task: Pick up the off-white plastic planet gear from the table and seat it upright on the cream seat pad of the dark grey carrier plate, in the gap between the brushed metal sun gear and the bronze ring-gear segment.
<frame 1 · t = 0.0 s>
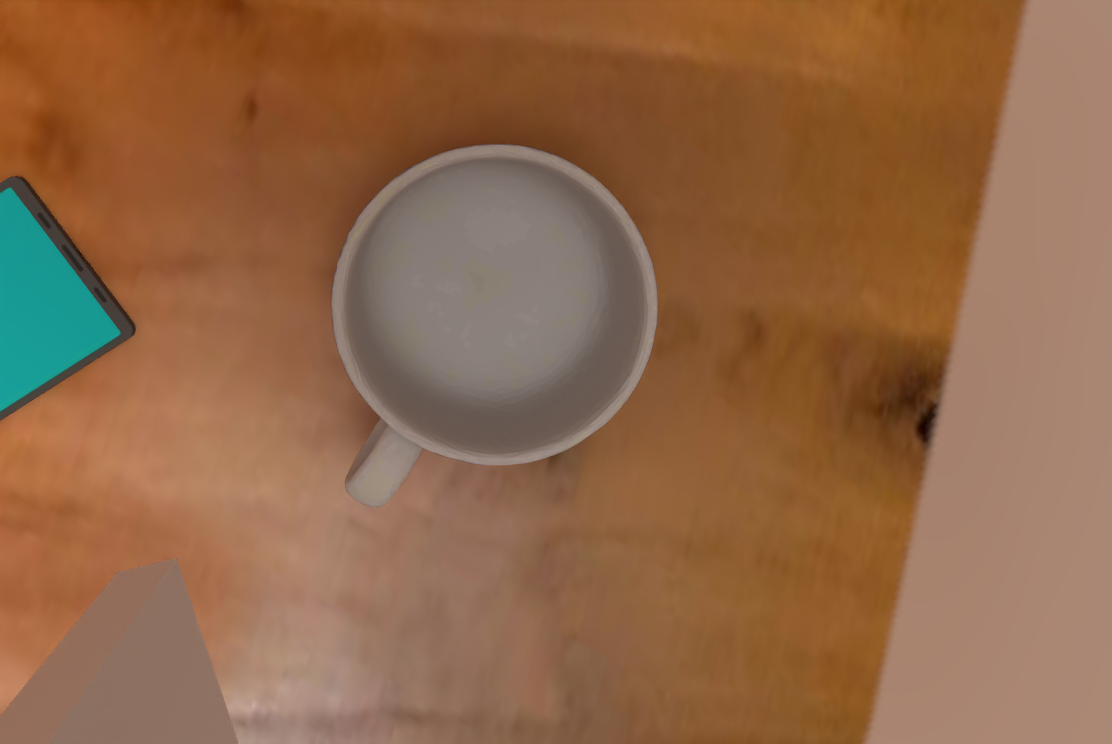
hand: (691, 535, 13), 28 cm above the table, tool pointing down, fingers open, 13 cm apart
teacup: (464, 307, 41), on the table
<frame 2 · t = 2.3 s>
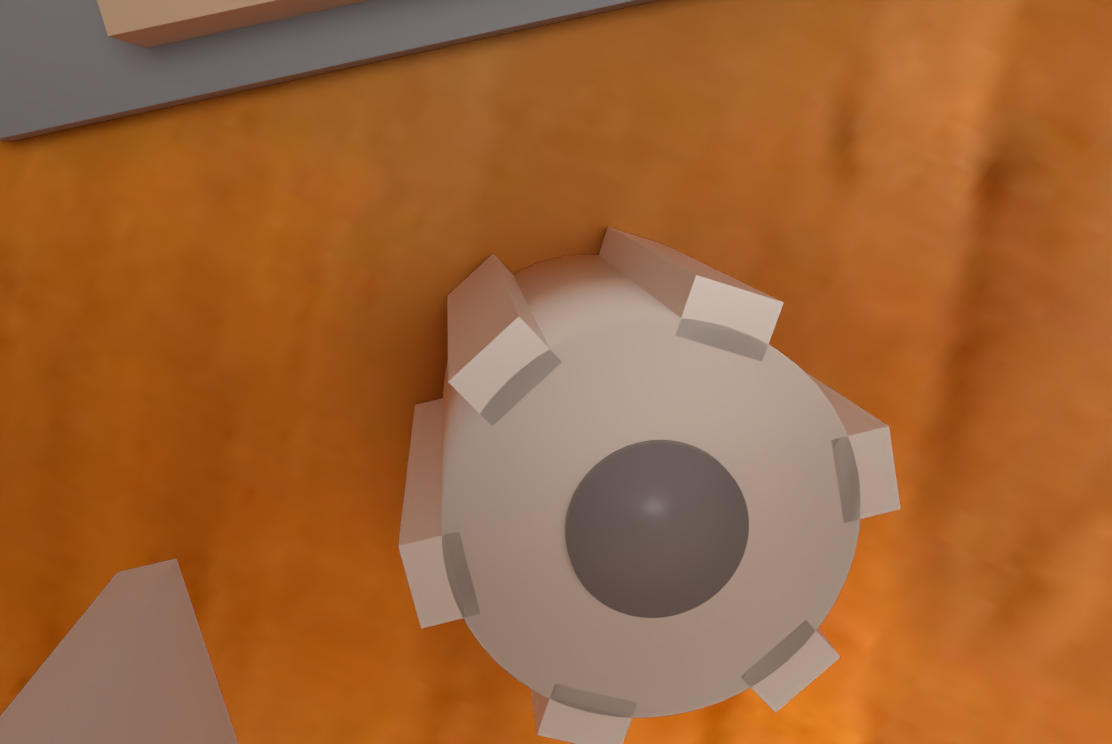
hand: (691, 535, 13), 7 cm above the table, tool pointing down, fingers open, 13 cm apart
planet gear: (584, 394, 20), on the table
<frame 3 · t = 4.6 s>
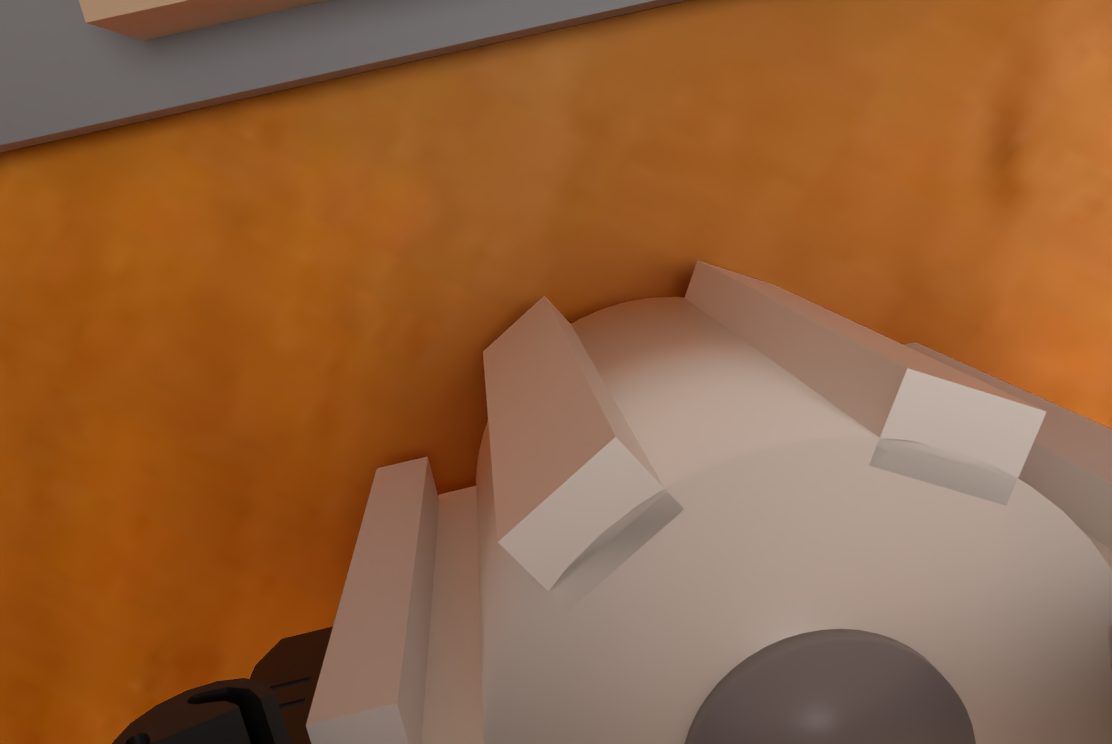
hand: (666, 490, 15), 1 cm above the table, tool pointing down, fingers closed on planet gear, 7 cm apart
planet gear: (662, 480, 15), point 1 cm above the table, touching gripper
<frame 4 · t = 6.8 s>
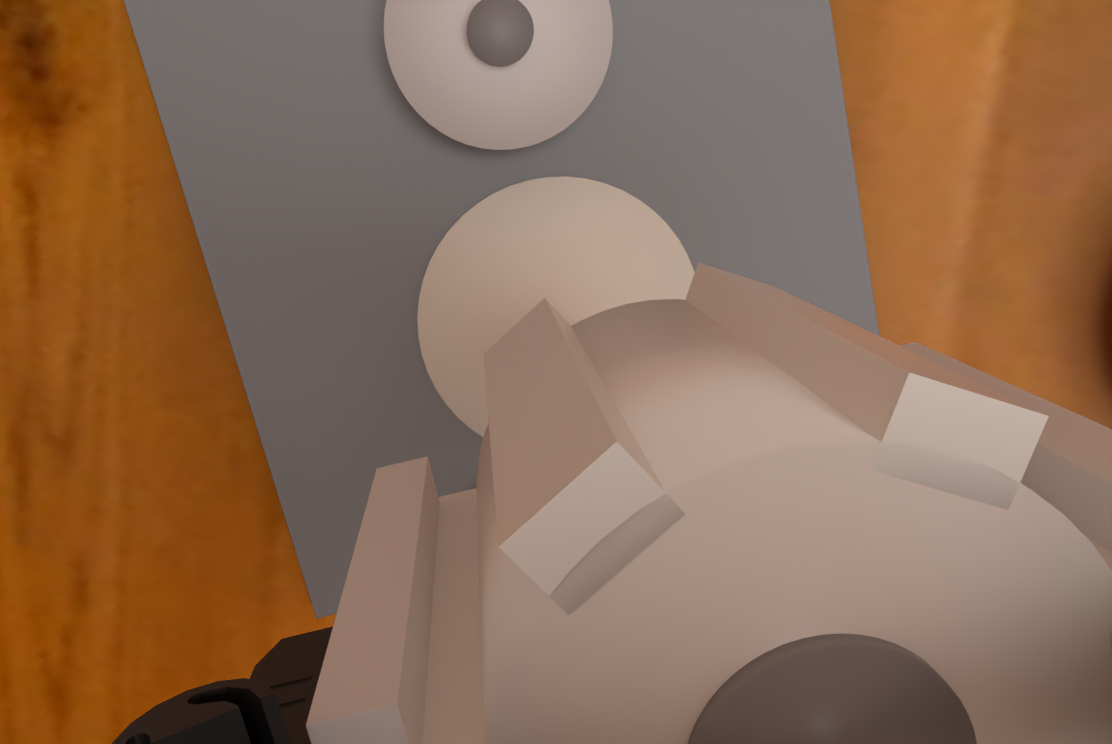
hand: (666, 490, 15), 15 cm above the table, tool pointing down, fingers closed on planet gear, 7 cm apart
carrier plate: (541, 247, 29), on the table
planet gear: (662, 483, 15), point 15 cm above the table, touching gripper
when the fingers open (3 cm above the table, at t = 8.8 s): planet gear drops 1 cm, resting on carrier plate.
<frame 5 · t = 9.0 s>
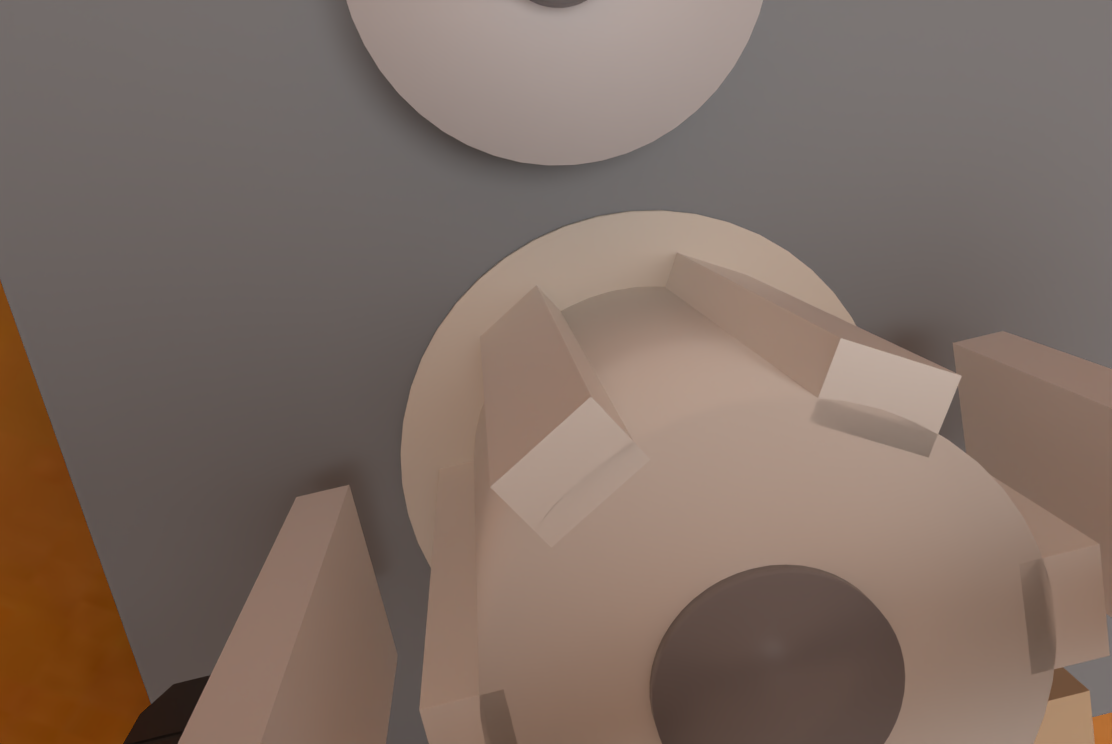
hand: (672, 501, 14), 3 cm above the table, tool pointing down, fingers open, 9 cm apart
carrier plate: (612, 327, 17), on the table
planet gear: (645, 456, 16), point 1 cm above the table, touching carrier plate
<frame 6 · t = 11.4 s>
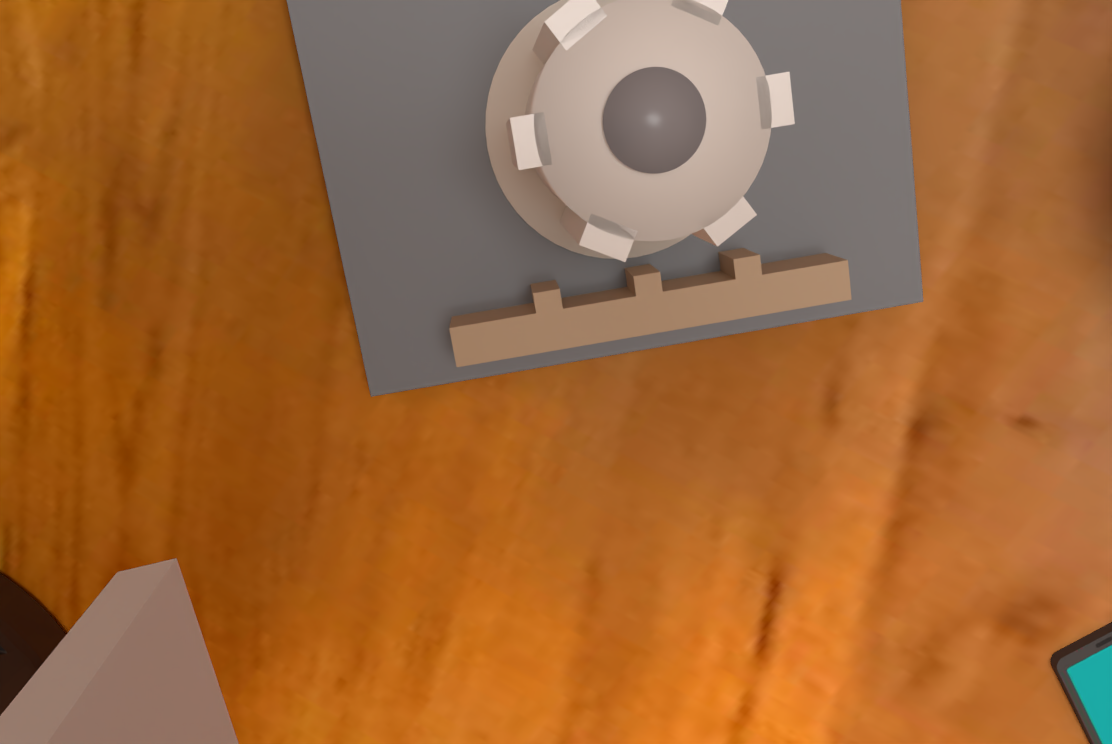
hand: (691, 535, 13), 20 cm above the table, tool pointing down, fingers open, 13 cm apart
carrier plate: (603, 61, 31), on the table
planet gear: (617, 125, 30), point 1 cm above the table, touching carrier plate
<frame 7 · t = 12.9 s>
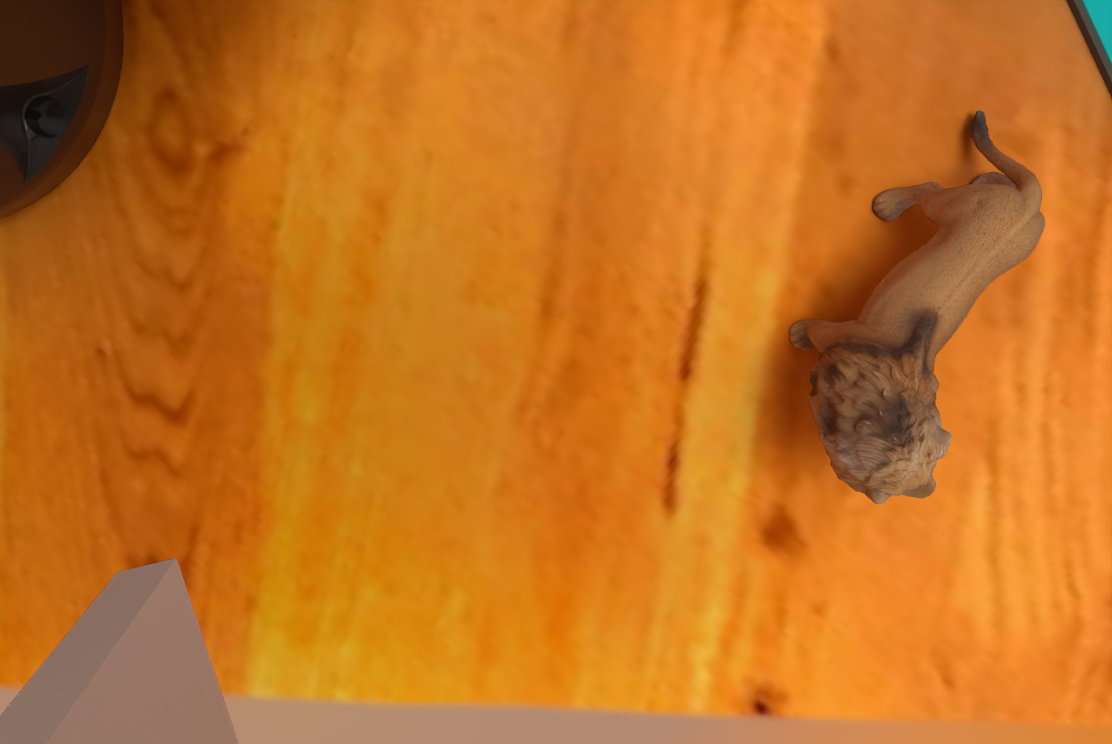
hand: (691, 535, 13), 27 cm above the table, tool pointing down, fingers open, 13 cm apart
lion figurine: (878, 292, 41), on the table
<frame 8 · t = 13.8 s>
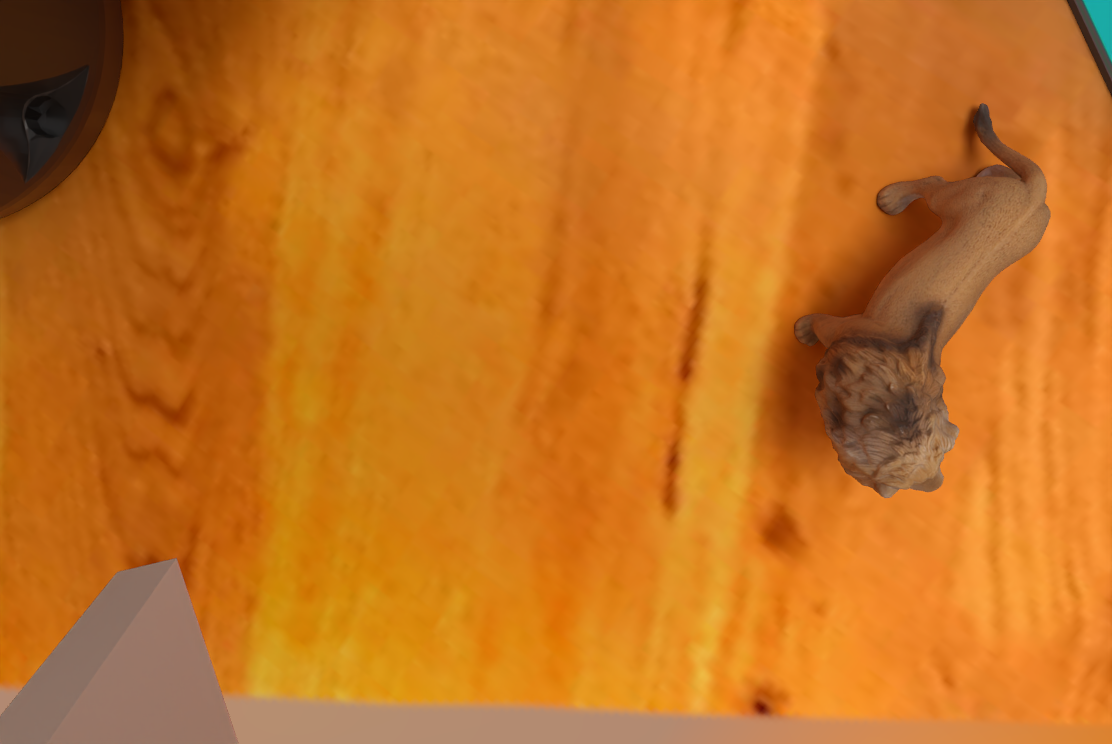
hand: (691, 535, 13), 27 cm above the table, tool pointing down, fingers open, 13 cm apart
lion figurine: (883, 287, 41), on the table
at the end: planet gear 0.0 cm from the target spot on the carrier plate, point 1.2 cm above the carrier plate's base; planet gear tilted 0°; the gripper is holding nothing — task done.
